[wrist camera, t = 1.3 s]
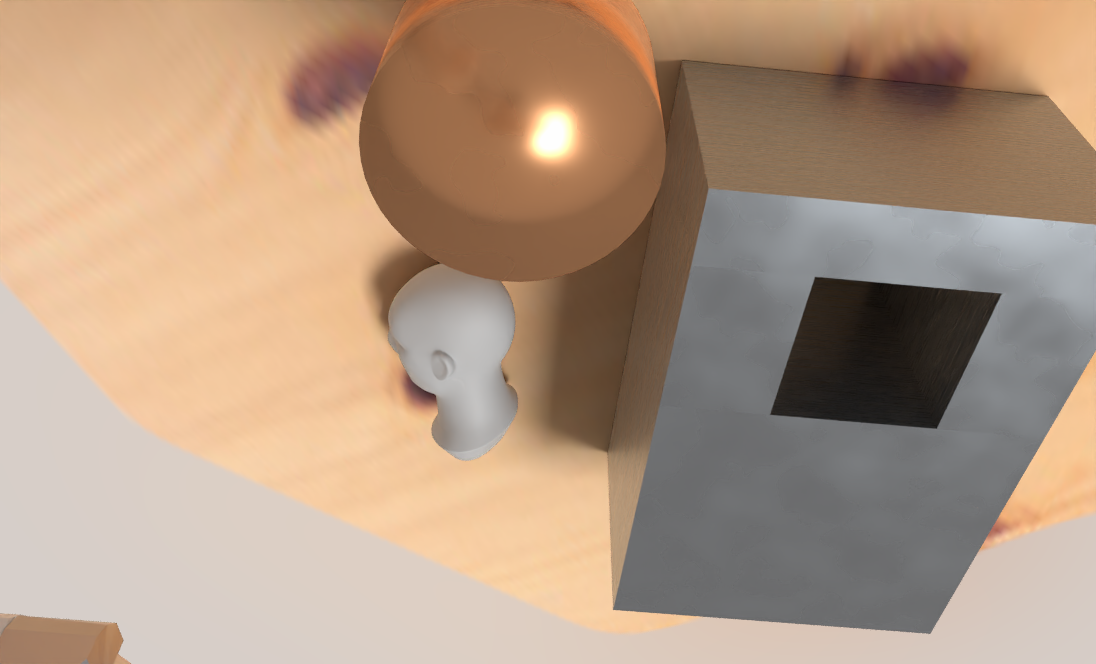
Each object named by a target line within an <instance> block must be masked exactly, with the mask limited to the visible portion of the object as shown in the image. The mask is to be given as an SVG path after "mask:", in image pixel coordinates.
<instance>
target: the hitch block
mask: <svg viewBox="0 0 1096 664" xmlns="http://www.w3.org/2000/svg"><path fill="white" fill-rule="evenodd" d="M1095 351H1096V151H1095V150H1094V149H1093V147H1092V146H1091V145H1090V144H1089V143H1088V142H1087V140H1086V139H1085V138H1084V137H1083V136H1082V135H1081V134H1080V132H1079V131H1078V130H1077V129H1076V128H1075V127H1074V125H1073V124H1072V123H1071V122H1070V121H1069V120H1068V119H1067V117H1066V116H1065V115H1064V114H1063V113H1062V112H1061V110H1060V109H1059V108H1058V107H1057V106H1056V105H1055V104H1054V102H1053V101H1052V100H1051V99H1050V98H1049V97H1047V96H1037V95H1027V94H1017V93H1007V92H997V91H987V90H977V89H966V88H956V87H946V86H936V85H926V84H916V83H906V82H896V81H886V80H876V79H866V78H855V77H845V76H835V75H825V74H815V73H805V72H795V71H785V70H775V69H765V68H755V67H744V66H734V65H724V64H714V63H704V62H694V61H684V60H682V63H681V68H680V73H679V78H678V84H677V89H676V94H675V100H674V105H673V110H672V115H671V121H670V126H669V131H668V137H667V142H666V159H665V168H664V174H663V177H662V181H661V185H660V189H659V191H658V193H657V196H656V200H655V205H654V211H653V216H652V221H651V227H650V232H649V237H648V242H647V248H646V253H645V258H644V264H643V269H642V274H641V279H640V285H639V290H638V295H637V301H636V306H635V311H634V317H633V322H632V327H631V332H630V338H629V343H628V348H627V354H626V359H625V364H624V369H623V375H622V380H621V385H620V391H619V396H618V401H617V406H616V412H615V417H614V422H613V428H612V433H611V438H610V443H609V449H608V479H609V507H610V535H611V563H612V591H613V610H623V611H636V612H649V613H662V614H676V615H689V616H702V617H717V618H729V619H742V620H756V621H769V622H782V623H795V624H810V625H823V626H835V627H849V628H862V629H875V630H888V631H889V630H890V631H902V632H915V633H928V634H930V633H931V632H932V630H933V628H934V626H935V625H936V623H937V621H938V620H939V618H940V616H941V614H942V613H943V611H944V609H945V608H946V606H947V604H948V602H949V601H950V599H951V597H952V595H953V594H954V592H955V590H956V588H957V587H958V585H959V584H960V582H961V580H962V578H963V577H964V575H965V573H966V572H967V570H968V568H969V566H970V565H971V563H972V561H973V560H974V558H975V556H976V554H977V553H978V551H979V549H980V548H981V546H982V544H983V543H984V541H985V539H986V537H987V536H988V534H989V532H990V531H991V529H992V527H993V525H994V524H995V522H996V520H997V519H998V517H999V515H1000V513H1001V512H1002V510H1003V508H1004V507H1005V505H1006V503H1007V501H1008V500H1009V498H1010V496H1011V495H1012V493H1013V491H1014V489H1015V488H1016V486H1017V484H1018V483H1019V481H1020V479H1021V477H1022V476H1023V474H1024V472H1025V471H1026V469H1027V467H1028V465H1029V464H1030V462H1031V460H1032V459H1033V457H1034V455H1035V453H1036V452H1037V450H1038V448H1039V447H1040V445H1041V443H1042V442H1043V440H1044V438H1045V436H1046V435H1047V433H1048V431H1049V430H1050V428H1051V426H1052V424H1053V423H1054V421H1055V419H1056V418H1057V416H1058V414H1059V412H1060V411H1061V409H1062V407H1063V406H1064V404H1065V402H1066V400H1067V399H1068V397H1069V395H1070V394H1071V392H1072V390H1073V388H1074V387H1075V385H1076V383H1077V382H1078V380H1079V378H1080V376H1081V375H1082V373H1083V371H1084V370H1085V368H1086V366H1087V364H1088V363H1089V361H1090V359H1091V358H1092V356H1093V354H1094V353H1095Z"/></svg>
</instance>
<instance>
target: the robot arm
mask: <svg viewBox="0 0 1096 664" xmlns="http://www.w3.org/2000/svg"><path fill="white" fill-rule="evenodd" d="M122 643H123V638H122V635H121V633H120V631H119V628H118V625H117V623H111V622H110V623H109V622H97V621H84V620H70V619H56V618H43V617H30V616H24V615H16V614H0V664H131V663H130V662H128V661H127V660H125V659H124V658H123V657H121V656H120V655H119V654H118V652H119V650H120V647H121V645H122Z"/></svg>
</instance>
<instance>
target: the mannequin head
mask: <svg viewBox="0 0 1096 664" xmlns="http://www.w3.org/2000/svg"><path fill="white" fill-rule="evenodd" d="M388 323H389V327H390V329H389V332H388V341H389V343H390V345H391V346H392V348H393V349H394V350H395V351H396V352H397V353H398V354H399V358H400V360H401V362H402V364H403V366H404V368H405V370H406V371H407V373H408V375H409V376H410V378H411V380H412V381H413V382H414V383H415V384H416V385H418V386H419V387H420V388H422V389H423V390H425V391H427V392H430V393H433V394H435V395H436V399H437V405H438V415H437V416H436V418H435V420H434V422H433V424H432V436H433V438H434V440H435V441H436V443H437V444H438V445H439V446H440V447H442V448H443V449H444V450H446V451H447V452H448V453H450V454H451V455H452V456H454V457H455V458H457V459H460V460H473V459H476V458H479V457H481V456H482V455H484V454H485V453H487V452H488V451H489V450H490V449H491V448H493V447H494V446H495V445H496V444H497V443H498V442H499V441H500V440H501V439H502V437H503V436H504V434H505V433H506V431H507V429H508V427H509V426H510V424H511V422H512V421H513V419H514V417H515V415H516V412H517V408H518V397H517V393H516V391H515V389H514V388H513V387H512V386H510V385H509V384H507V383H506V382H505V380H504V377H503V373H502V368H501V361H502V360H503V358H504V357H505V355H506V353H507V352H508V350H509V348H510V346H511V343H512V340H513V336H514V331H515V312H514V307H513V303H512V300H511V298H510V295H509V293H508V291H507V290H506V288H505V286H504V285H503V284H502V283H501V281H499V280H492V279H485V278H481V277H477V276H473V275H469V274H466V273H463V272H460V271H458V270H455V269H452V268H450V267H448V266H446V265H444V264H442V263H441V264H437V265H434V266H431V267H429V268H427V269H425V270H423V271H421V272H419V273H418V274H416V275H415V276H414V277H412V278H411V279H410V280H409V281H408V282H407V283H406V284H405V285H404V286H403V287H402V288H401V289H400V290H399V292H398V293H397V294H396V296H395V298H394V299H393V301H392V304H391V306H390V309H389V314H388Z"/></svg>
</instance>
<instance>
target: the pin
mask: <svg viewBox="0 0 1096 664" xmlns="http://www.w3.org/2000/svg"><path fill="white" fill-rule="evenodd" d="M359 147H360V156H361V163H362V167H363V171H364V175H365V179H366V181H367V184H368V186H369V189H370V191H371V194H372V196H373V198H374V199H375V201H376V203H377V205H378V206H379V208H380V210H381V211H382V213H383V214H384V215H385V217H386V218H387V219H388V221H389V222H390V223H391V225H392V226H393V227H394V228H395V229H396V230H397V231H398V232H399V233H400V234H401V235H402V236H403V237H404V238H405V239H406V240H407V241H408V242H410V243H411V244H412V245H413V246H414V247H416V248H417V249H418V250H420V251H421V252H423V253H424V254H426V255H427V256H429V257H431V258H432V259H434V260H436V261H438V262H440V263H442V264H444V265H446V266H448V267H450V268H452V269H455V270H458V271H460V272H463V273H466V274H469V275H473V276H477V277H481V278H485V279H492V280H499V281H517V282H523V281H537V280H544V279H549V278H555V277H559V276H562V275H566V274H569V273H572V272H575V271H578V270H580V269H582V268H585V267H587V266H589V265H591V264H593V263H595V262H597V261H598V260H600V259H602V258H604V257H605V256H607V255H608V254H610V253H611V252H612V251H614V250H615V249H616V248H618V247H619V246H620V245H621V244H622V243H623V242H624V241H625V240H626V239H627V238H629V237H630V236H631V235H632V234H633V232H634V231H635V230H636V229H637V228H638V226H639V225H640V224H641V223H642V221H643V220H644V218H645V217H646V215H647V213H648V212H649V210H650V208H651V207H652V205H653V203H654V200H655V198H656V196H657V193H658V191H659V189H660V185H661V181H662V177H663V174H664V168H665V159H666V136H665V129H664V123H663V116H662V110H661V103H660V97H659V90H658V84H657V77H656V71H655V64H654V58H653V52H652V46H651V41H650V38H649V35H648V32H647V29H646V26H645V24H644V22H643V20H642V18H641V16H640V14H639V12H638V10H637V8H636V7H635V5H634V4H633V2H632V1H631V0H406V2H405V3H404V5H403V7H402V9H401V11H400V13H399V15H398V17H397V19H396V22H395V24H394V27H393V30H392V32H391V35H390V37H389V40H388V43H387V45H386V48H385V50H384V53H383V56H382V58H381V61H380V63H379V66H378V69H377V71H376V74H375V77H374V79H373V82H372V84H371V87H370V90H369V92H368V95H367V98H366V101H365V104H364V107H363V111H362V117H361V122H360V134H359Z"/></svg>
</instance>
